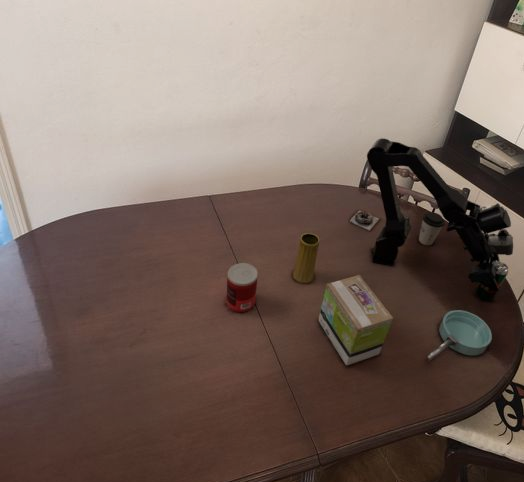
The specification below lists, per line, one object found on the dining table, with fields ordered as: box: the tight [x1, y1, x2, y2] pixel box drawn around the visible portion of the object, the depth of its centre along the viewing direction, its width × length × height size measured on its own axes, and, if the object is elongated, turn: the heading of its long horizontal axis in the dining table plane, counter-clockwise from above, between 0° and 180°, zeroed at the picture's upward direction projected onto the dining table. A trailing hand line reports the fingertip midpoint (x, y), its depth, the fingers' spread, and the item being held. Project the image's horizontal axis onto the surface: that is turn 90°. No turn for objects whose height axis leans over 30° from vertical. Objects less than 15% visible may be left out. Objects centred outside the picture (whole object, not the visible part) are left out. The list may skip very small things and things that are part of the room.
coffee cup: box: [418, 212, 446, 246], centre depth 150 cm, size 7×7×10 cm
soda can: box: [475, 260, 509, 302], centre depth 131 cm, size 5×5×12 cm
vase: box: [292, 232, 320, 284], centre depth 130 cm, size 6×6×14 cm
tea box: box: [318, 274, 394, 366], centre depth 114 cm, size 15×10×15 cm, turn 23°
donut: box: [349, 209, 380, 231], centre depth 158 cm, size 8×8×2 cm
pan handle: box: [425, 334, 458, 362], centre depth 114 cm, size 11×2×2 cm, turn 127°
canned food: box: [225, 262, 259, 313], centre depth 121 cm, size 8×8×11 cm
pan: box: [438, 309, 493, 356], centre depth 121 cm, size 12×12×4 cm
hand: (498, 280), depth 130 cm, fingers open, 9 cm apart
